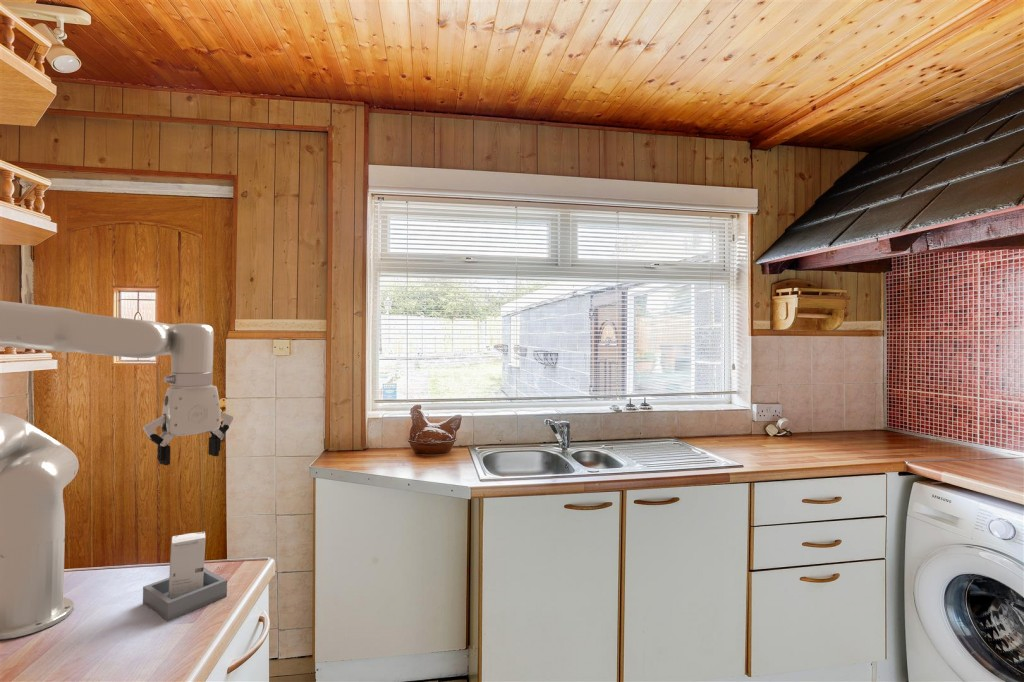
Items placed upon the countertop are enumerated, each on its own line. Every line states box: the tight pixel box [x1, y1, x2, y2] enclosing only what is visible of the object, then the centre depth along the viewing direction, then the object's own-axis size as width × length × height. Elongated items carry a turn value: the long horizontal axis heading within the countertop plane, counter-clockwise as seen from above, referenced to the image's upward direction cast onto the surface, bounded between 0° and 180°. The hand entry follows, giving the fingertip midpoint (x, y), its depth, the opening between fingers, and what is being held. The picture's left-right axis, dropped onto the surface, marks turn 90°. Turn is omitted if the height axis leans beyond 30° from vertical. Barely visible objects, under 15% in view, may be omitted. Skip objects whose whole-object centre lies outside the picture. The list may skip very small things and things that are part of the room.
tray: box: [142, 567, 228, 622], centre depth 100 cm, size 11×11×4 cm
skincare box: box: [168, 531, 206, 599], centre depth 101 cm, size 6×4×12 cm
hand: (190, 459), depth 104 cm, fingers open, 9 cm apart
